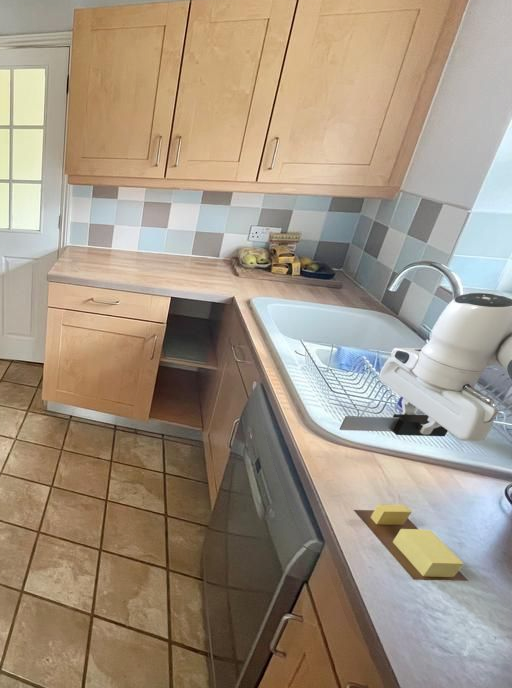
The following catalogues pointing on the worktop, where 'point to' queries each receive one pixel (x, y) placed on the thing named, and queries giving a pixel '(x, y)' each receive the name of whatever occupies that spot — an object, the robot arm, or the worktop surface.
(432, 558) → the butter block
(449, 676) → the worktop surface
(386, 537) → the board
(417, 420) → the knife
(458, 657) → the worktop surface
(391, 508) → the butter slice
